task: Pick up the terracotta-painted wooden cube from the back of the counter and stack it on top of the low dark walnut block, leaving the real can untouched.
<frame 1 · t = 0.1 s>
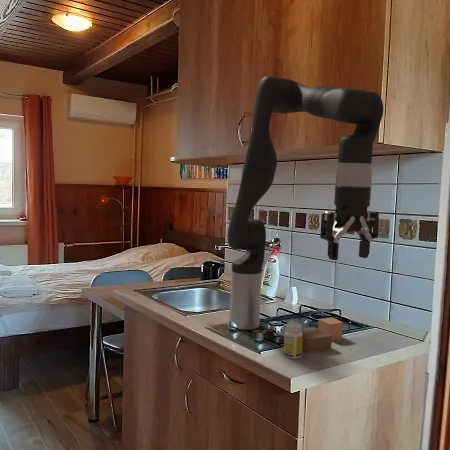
hand: (348, 258, 102), 29 cm above the countertop, fingers open, 8 cm apart
walnut block: (310, 346, 130), on the countertop
supplement bottle: (292, 356, 122), on the countertop
terracotta cube: (329, 337, 138), on the countertop
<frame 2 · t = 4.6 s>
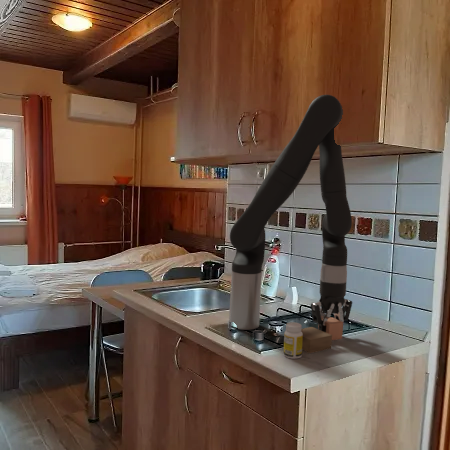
hand: (329, 335, 138), 0 cm above the countertop, fingers closed on terracotta cube, 5 cm apart
terracotta cube: (329, 336, 138), on the countertop, touching gripper
everything else where it was.
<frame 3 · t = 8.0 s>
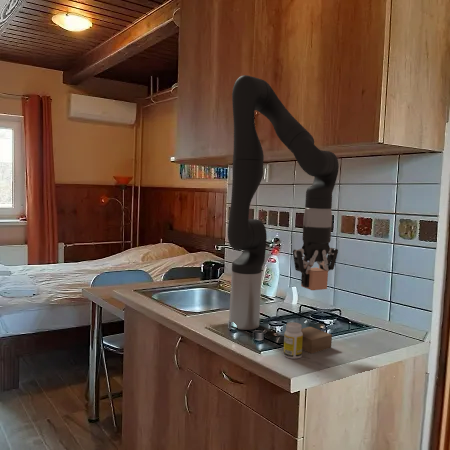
hand: (313, 285, 128), 17 cm above the countertop, fingers closed on terracotta cube, 5 cm apart
terracotta cube: (313, 287, 128), point 17 cm above the countertop, touching gripper
everything else where it was.
when the fingers open (5 cm above the countertop, at t = 11.7 s): terracotta cube stays where it is, point 4 cm above the countertop.
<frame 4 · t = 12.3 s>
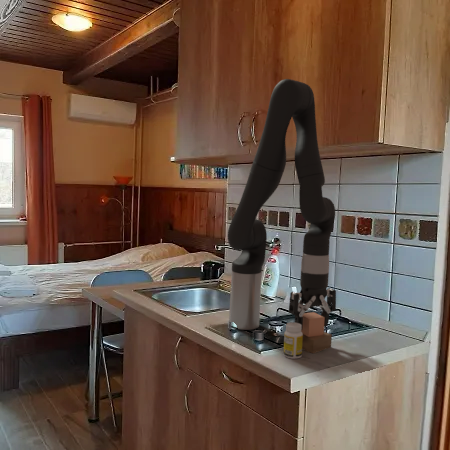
hand: (311, 327, 129), 5 cm above the countertop, fingers open, 8 cm apart
terracotta cube: (310, 333, 129), point 4 cm above the countertop
everything else where it was.
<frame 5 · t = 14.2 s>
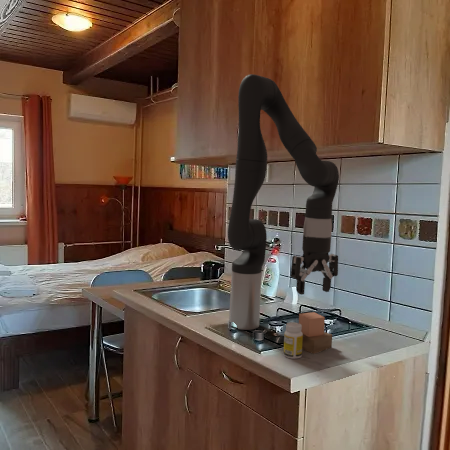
hand: (313, 292, 128), 15 cm above the countertop, fingers open, 8 cm apart
nothing on the countertop moved.
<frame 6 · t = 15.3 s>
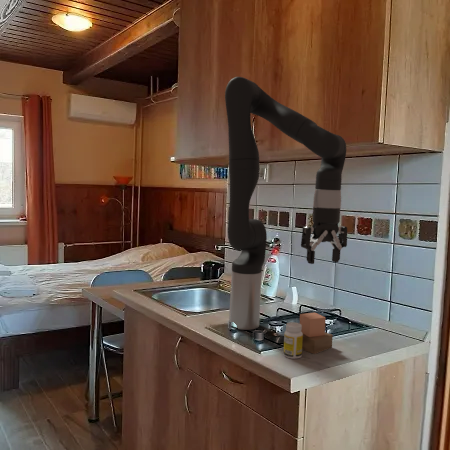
hand: (323, 262, 132), 23 cm above the countertop, fingers open, 8 cm apart
walnut block: (311, 347, 129), on the countertop, touching terracotta cube
terracotta cube: (311, 333, 129), point 4 cm above the countertop, touching walnut block
everything else where it was.
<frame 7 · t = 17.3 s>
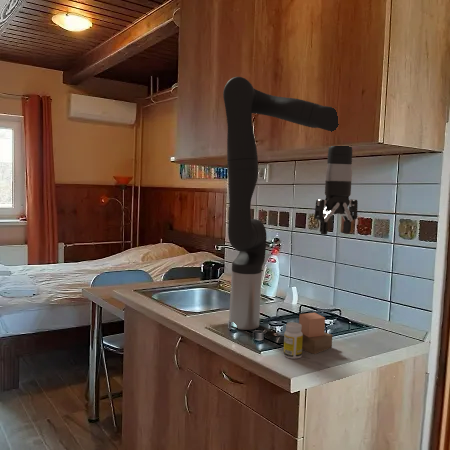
hand: (335, 234, 139), 30 cm above the countertop, fingers open, 8 cm apart
nothing on the countertop moved.
at the end: terracotta cube 0.3 cm off-centre on the walnut block, point 4.0 cm above the walnut block's base; terracotta cube tilted 0°; the gripper is holding nothing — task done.
